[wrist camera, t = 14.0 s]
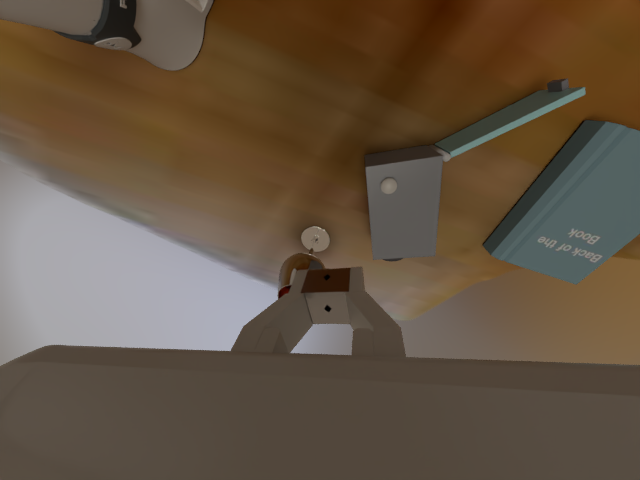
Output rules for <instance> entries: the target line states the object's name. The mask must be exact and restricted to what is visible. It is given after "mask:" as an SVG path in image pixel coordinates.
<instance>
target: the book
mask: <svg viewBox="0 0 640 480" xmlns="http://www.w3.org/2000/svg"><path fill="white" fill-rule="evenodd" d="M638 234H640V131H638V130H635V129H631V128H627V127H626V126H623V125H620V124H615V123H610V122H604V121H591V120H585V121H584V123H583V124H582V125H581V126H580V127H579V129H578V130H577V131H576V132H575V134H574V135H573V136H572V137H571V138H570V140H569V141H568V142H567V143H566V145H565V146H564V147H563V148H562V149H561V151H560V152H559V153H558V154H557V156H556V157H555V158H554V159H553V160H552V162H551V163H550V164H549V165H548V166H547V168H546V169H545V170H544V171H543V173H542V174H541V175H540V176H539V177H538V179H537V180H536V181H535V182H534V184H533V185H532V186H531V187H530V188H529V190H528V191H527V192H526V193H525V195H524V196H523V197H522V198H521V199H520V201H519V202H518V203H517V204H516V206H515V207H514V208H513V209H512V210H511V212H510V213H509V214H508V215H507V216H506V218H505V219H504V220H503V221H502V223H501V224H500V225H499V226H498V227H497V229H496V230H495V231H494V232H493V234H492V235H491V236H490V237H489V238H488V240H487V241H486V242H485V243H484V245H483V246H484V248H485V249H486V250H487V251H488V252H489V253H490V255H492V256H494V257H495V258H497V259H499V260H502V261H503V260H504V261H506V262H508V263H511V264H514V265H517V266H521V267H524V268H527V269H530V270H533V271H536V272H540V273H542V274H545V275H549V276H552V277H555V278H558V279H561V280H564V281H567V282H570V283H573V284H578V283H579V282H580V281H581V280H583V279H584V278H585V277H586V276H588V275H589V274H590V273H591V272H592V271H594V270H595V269H596V268H598V267H599V266H600V265H601V264H602V263H604V262H605V261H606V260H607V259H608V258H610V257H611V256H612V255H614V254H615V253H616V252H617V251H619V250H620V249H621V248H622V247H624V246H625V245H626V244H627V243H629V242H630V241H631V240H632V239H634V238H635V237H636V236H637V235H638Z"/></svg>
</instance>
